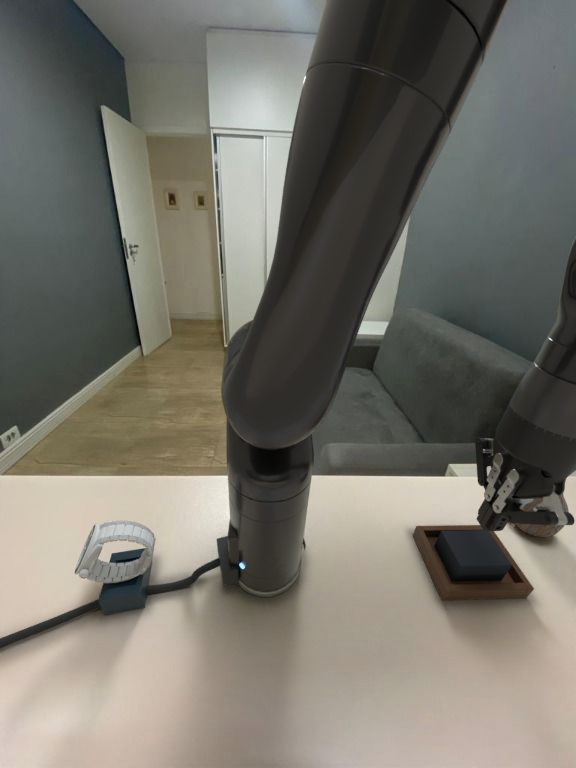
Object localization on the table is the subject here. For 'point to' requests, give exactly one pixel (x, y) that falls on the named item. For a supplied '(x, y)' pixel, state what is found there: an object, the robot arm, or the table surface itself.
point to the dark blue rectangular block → (472, 556)
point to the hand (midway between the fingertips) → (487, 525)
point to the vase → (541, 529)
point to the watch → (118, 565)
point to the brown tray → (458, 590)
